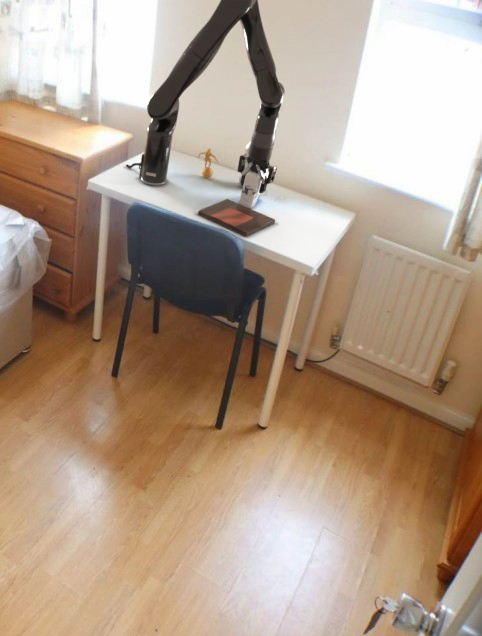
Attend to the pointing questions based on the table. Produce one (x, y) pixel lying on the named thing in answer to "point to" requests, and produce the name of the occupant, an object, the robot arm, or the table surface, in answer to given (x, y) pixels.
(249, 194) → the ink box
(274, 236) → the table surface
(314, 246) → the table surface
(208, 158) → the figurine
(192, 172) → the table surface
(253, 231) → the counter board
